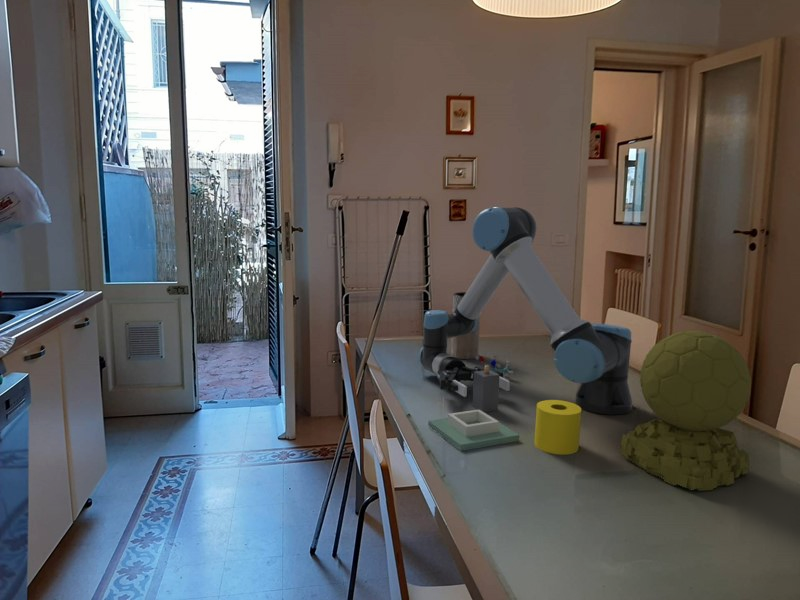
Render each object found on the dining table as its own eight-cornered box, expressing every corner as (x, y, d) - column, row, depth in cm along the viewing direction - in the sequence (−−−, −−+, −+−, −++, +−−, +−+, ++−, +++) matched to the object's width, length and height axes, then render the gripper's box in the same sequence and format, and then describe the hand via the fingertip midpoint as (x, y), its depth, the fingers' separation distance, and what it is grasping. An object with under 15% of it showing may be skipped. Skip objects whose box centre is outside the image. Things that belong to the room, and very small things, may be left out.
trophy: (674, 439, 146) (687, 317, 141) (763, 476, 127) (781, 338, 122) (606, 455, 136) (617, 325, 131) (692, 498, 117) (709, 348, 112)
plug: (487, 404, 168) (489, 362, 166) (497, 410, 164) (499, 367, 162) (472, 406, 166) (474, 364, 164) (482, 412, 162) (484, 369, 160)
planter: (459, 351, 226) (461, 291, 222) (483, 355, 220) (486, 294, 217) (445, 356, 218) (447, 294, 214) (469, 361, 212) (472, 297, 209)
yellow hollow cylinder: (525, 440, 144) (528, 402, 142) (560, 434, 147) (562, 397, 146) (552, 457, 134) (554, 417, 133) (587, 450, 138) (590, 411, 137)
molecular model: (515, 363, 198) (507, 341, 192) (516, 384, 191) (508, 362, 185) (481, 369, 201) (472, 348, 196) (481, 390, 194) (472, 369, 188)
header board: (482, 418, 157) (483, 403, 157) (518, 440, 143) (519, 424, 142) (428, 426, 151) (428, 411, 150) (460, 451, 137) (460, 434, 136)
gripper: (484, 376, 188) (524, 396, 169) (411, 384, 178) (446, 407, 158) (485, 352, 186) (526, 370, 167) (412, 359, 176) (447, 380, 157)
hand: (487, 388), depth 163 cm, fingers open, 13 cm apart
